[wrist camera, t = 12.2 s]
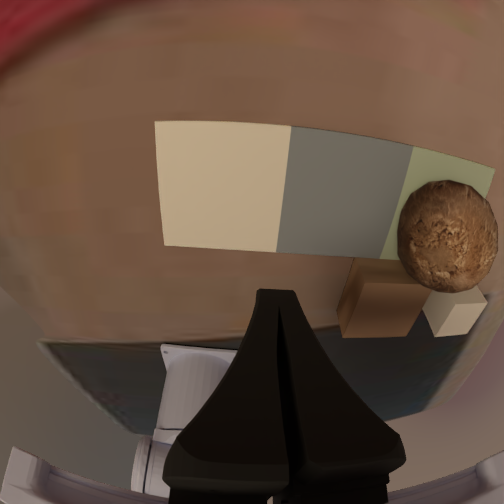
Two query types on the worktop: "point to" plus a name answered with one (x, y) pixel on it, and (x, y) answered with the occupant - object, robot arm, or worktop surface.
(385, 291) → the plinth
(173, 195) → the board
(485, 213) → the mushroom
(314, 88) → the worktop surface
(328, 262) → the worktop surface
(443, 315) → the beige cube
